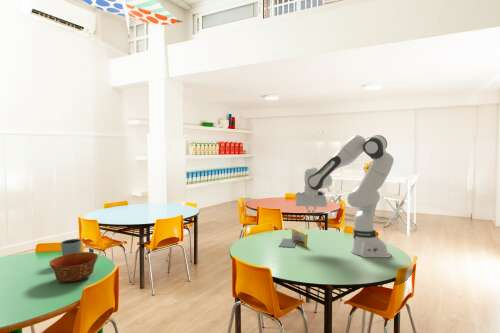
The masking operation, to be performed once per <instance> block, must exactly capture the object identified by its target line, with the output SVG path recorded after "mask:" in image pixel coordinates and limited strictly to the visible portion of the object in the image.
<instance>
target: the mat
mask: <svg viewBox="0 0 500 333" xmlns="http://www.w3.org/2000/svg"><path fill="white" fill-rule="evenodd" d="M296 245H297V242H295V241H293V240H292V238H282V240H281V242H280V244H279V245H278V248H290V249H291V248H292V249H293V248H294V249H295V248H296Z"/></svg>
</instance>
